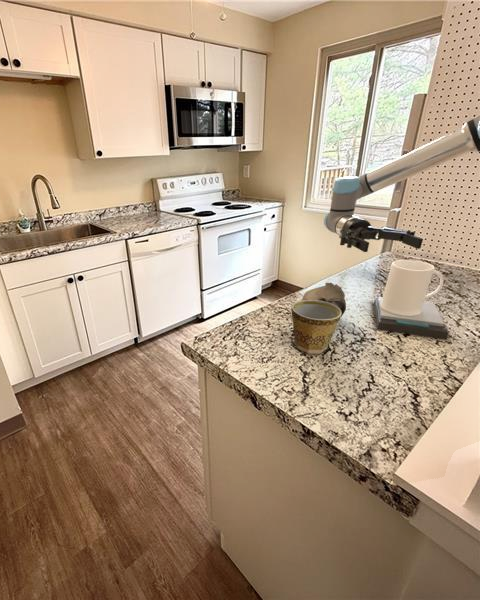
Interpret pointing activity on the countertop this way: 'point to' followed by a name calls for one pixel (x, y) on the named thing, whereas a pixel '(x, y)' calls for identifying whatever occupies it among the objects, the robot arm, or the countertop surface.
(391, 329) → the scale
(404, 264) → the mug
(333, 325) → the ceramic cup
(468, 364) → the countertop surface
